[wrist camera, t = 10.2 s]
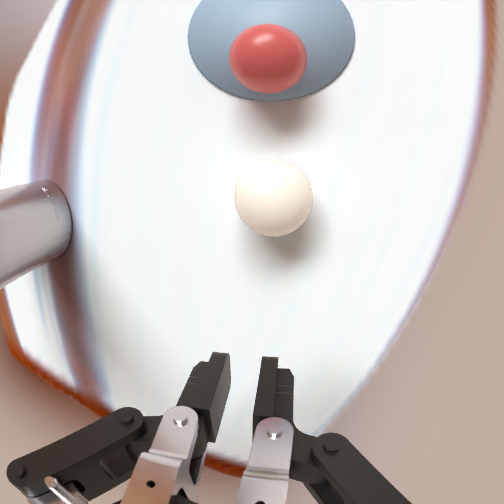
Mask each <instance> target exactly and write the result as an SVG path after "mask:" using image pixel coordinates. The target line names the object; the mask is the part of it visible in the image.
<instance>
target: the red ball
mask: <svg viewBox="0 0 504 504" xmlns="http://www.w3.org/2000/svg"><path fill="white" fill-rule="evenodd" d="M229 64H230V68H231V70H232V73H233V74H234V76H235V77H236V79H237V80H238V81H239V82H240V83H241V84H243V85H244V86H245V87H247V88H249V89H251V90H253V91H256V92H261V93H277V92H281V91H284V90H286V89H289V88H290V87H292V86H293V85H295V84H296V83H297V82H298V81H299V80H300V78H301V77H302V76H303V74H304V72H305V69H306V65H307V53H306V49H305V46H304V44H303V43H302V41H301V40H300V38H299V37H298V36H297V35H296V34H295V33H294V32H292V31H291V30H289V29H287V28H285V27H283V26H280V25H276V24H258V25H255V26H252V27H249V28H247V29H246V30H244V31H243V32H241V33H240V34H239V35H238V36H237V37H236V39H235V40H234V41H233V43H232V45H231V48H230V52H229Z"/></svg>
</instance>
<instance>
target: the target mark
mask: <svg viewBox="0 0 504 504" xmlns="http://www.w3.org/2000/svg"><path fill="white" fill-rule="evenodd" d="M258 24H276V25H280V26H283V27H285V28H287V29H289V30H291V31H292V32H294V33H295V34H296V35H297V36H298V37H299V38H300V40H301V41H302V43H303V44H304V46H305V49H306V53H307V65H306V69H305V72H304V74H303V76H302V77H301V78H300V80H299V81H298V82H297V83H296V84H295V85H293V86H292V87H290V88H289V89H286V90H284V91H281V92H277V93H261V92H256V91H253V90H251V89H249V88H247V87H245V86H244V85H243V84H241V83H240V82H239V81H238V80H237V79H236V77H235V76H234V74H233V73H232V70H231V68H230V64H229V52H230V48H231V45H232V43H233V41H234V40H235V39H236V37H237V36H238V35H239V34H240V33H241V32H243V31H244V30H246V29H247V28H249V27H252V26H255V25H258ZM354 40H355V32H354V25H353V21H352V18H351V16H350V13H349V11H348V10H347V8H346V6H345V5H344V3H343V2H342V1H341V0H202V1H201V3H200V4H199V5H198V7H197V8H196V10H195V12H194V14H193V16H192V18H191V21H190V25H189V30H188V45H189V50H190V54H191V56H192V59H193V61H194V63H195V64H196V66H197V68H198V69H199V70H200V71H201V73H202V74H203V75H204V76H205V77H206V78H207V79H208V80H210V81H211V82H212V83H213V84H215V85H216V86H218V87H219V88H221V89H223V90H225V91H227V92H229V93H232V94H234V95H237V96H240V97H244V98H248V99H254V100H261V101H278V100H287V99H292V98H297V97H300V96H304V95H307V94H309V93H312V92H314V91H316V90H318V89H320V88H322V87H323V86H325V85H327V84H328V83H329V82H331V81H332V80H333V79H334V78H335V77H336V76H337V75H338V74H339V73H340V72H341V71H342V70H343V68H344V67H345V66H346V64H347V62H348V60H349V58H350V56H351V54H352V51H353V47H354Z"/></svg>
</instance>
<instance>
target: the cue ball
mask: <svg viewBox="0 0 504 504" xmlns="http://www.w3.org/2000/svg"><path fill="white" fill-rule="evenodd" d="M234 201H235V207H236V210H237V213H238V215H239V217H240V218H241V220H242V221H243V222H244V223H245V224H246V226H248V227H249V228H250V229H251V230H253V231H255V232H257V233H259V234H262V235H265V236H282V235H286V234H289V233H291V232H293V231H294V230H296V229H297V228H299V227H300V226H301V225H302V224H303V223H304V222H305V220H306V219H307V217H308V215H309V213H310V211H311V208H312V202H313V194H312V188H311V185H310V182H309V180H308V178H307V177H306V175H305V174H304V173H303V171H302V170H301V169H300V168H298V167H297V166H296V165H294V164H292V163H291V162H288V161H286V160H282V159H264V160H261V161H258V162H256V163H254V164H252V165H251V166H249V167H248V168H247V169H246V170H245V171H244V172H243V173H242V175H241V176H240V178H239V180H238V182H237V184H236V187H235V193H234Z"/></svg>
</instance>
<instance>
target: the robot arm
mask: <svg viewBox="0 0 504 504" xmlns="http://www.w3.org/2000/svg"><path fill="white" fill-rule="evenodd" d="M71 231H72V229H71V216H70V211H69V207H68V204H67V202H66V199H65V197H64V195H63V194H62V192H61V190H60V189H59V188H58V187H57V186H56V185H55V184H53V183H52V182H50V181H47V180H43V181H37V182H33V183H28V184H24V185H19V186H15V187H11V188H7V189H3V190H0V289H1V288H3V287H4V286H6V285H8V284H9V283H11V282H13V281H15V280H16V279H18V278H20V277H21V276H23V275H25V274H27V273H28V272H30V271H32V270H34V269H36V268H38V267H39V266H41V265H43V264H45V263H47V262H48V261H50V260H52V259H54V258H56V257H58V256H60V255H61V254H63V253H64V252H65V250H66V249H67V247H68V245H69V242H70V239H71ZM230 384H231V371H230V355H229V354H228V353H218V352H213V353H212V355H211V357H210V360H209V362H203V361H201V362H199V363H198V364H197V365H196V366H195V367H194V368H193V370H192V372H191V374H190V377H189V378H188V381H187V383H186V385H185V387H184V390H183V392H182V394H181V396H180V398H179V401H178V403H177V405H176V407H173V408H170V409H169V410H167V411H166V412H165V414H164V415H162V416H143V415H142V413H141V412H140V411H139V410H137V409H135V408H132V407H124V408H120V409H118V410H116V411H115V412H113V413H111V414H109V415H107V416H105V417H103V418H101V419H100V420H98V421H96V422H94V423H92V424H90V425H88V426H87V427H84V428H82V429H80V430H78V431H76V432H74V433H72V434H70V435H68V436H66V437H64V438H62V439H60V440H58V441H56V442H54V443H52V444H49V445H47V446H45V447H43V448H41V449H39V450H36V451H34V452H32V453H30V454H27V455H25V456H23V457H20V458H18V459H16V460H13V461H12V462H11V463H10V464H9V465H8V468H7V477H8V479H9V481H10V482H11V483H12V484H13V485H14V486H15V487H17V489H19V490H20V491H21V493H22V494H24V495H25V496H26V498H27V499H28V501H29V503H30V504H88V501H90V500H92V499H94V498H96V497H98V496H100V495H102V494H103V493H105V492H107V491H109V490H111V489H112V488H114V487H116V486H118V485H119V484H121V483H123V482H124V481H126V480H128V479H129V478H130V481H129V483H128V486H127V488H126V491H125V493H124V496H123V498H122V500H120V501H118V502H115V503H113V504H198V486H199V481H200V477H201V473H202V469H203V464H204V460H205V456H206V451H205V450H206V447H207V443H208V442H213V443H215V441H216V437H217V434H218V430H219V426H220V423H221V419H222V416H223V412H224V408H225V405H226V401H227V398H228V394H229V390H230ZM293 393H294V376H293V374H292V373H291V371H290V369H281V368H278V357H264V356H263V357H262V362H261V368H260V375H259V381H258V387H257V393H256V399H255V405H254V411H253V443H252V448H251V452H250V456H249V460H248V464H247V468H246V470H245V471H244V473H243V476H242V480H241V484H240V487H239V491H238V495H237V499H236V503H235V504H286V497H287V489H288V481H289V478H291V479H294V480H297V481H301V482H303V484H304V485H305V487H306V488H307V489H308V491H309V492H310V493H311V495H312V496H313V497H314V498H315V500H316V501H317V502H318V504H411V502H409V501H408V500H407V499H406V498H405V497H404V496H403V495H402V494H401V493H400V492H399V491H398V490H397V489H396V488H395V487H394V486H393V485H392V484H390V483H389V481H388V480H386V478H384V477H383V475H381V473H379V472H378V470H377V469H376V468H375V467H373V465H371V464H370V462H369V461H368V460H367V459H366V458H365V457H364V456H363V455H361V453H360V452H359V451H358V450H357V449H356V448H355V447H354V446H353V445H352V444H351V443H350V442H349V441H348V439H346V438H345V437H344V436H342V435H340V434H337V433H326V434H322V435H320V436H319V437H314V436H310V435H307V434H304V433H302V432H301V431H299V430H298V429H297V428H296V427H295V425H294V423H293Z"/></svg>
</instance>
